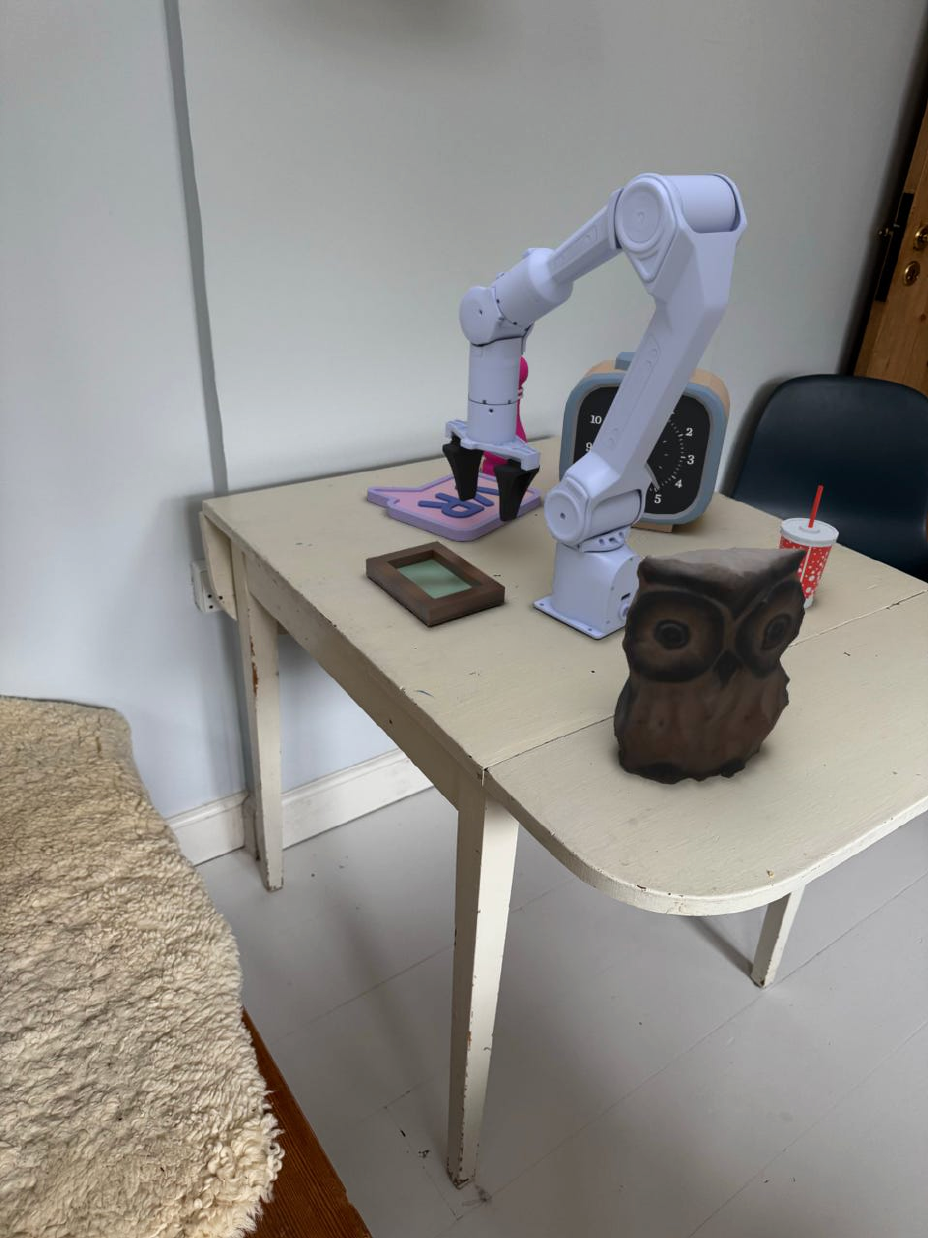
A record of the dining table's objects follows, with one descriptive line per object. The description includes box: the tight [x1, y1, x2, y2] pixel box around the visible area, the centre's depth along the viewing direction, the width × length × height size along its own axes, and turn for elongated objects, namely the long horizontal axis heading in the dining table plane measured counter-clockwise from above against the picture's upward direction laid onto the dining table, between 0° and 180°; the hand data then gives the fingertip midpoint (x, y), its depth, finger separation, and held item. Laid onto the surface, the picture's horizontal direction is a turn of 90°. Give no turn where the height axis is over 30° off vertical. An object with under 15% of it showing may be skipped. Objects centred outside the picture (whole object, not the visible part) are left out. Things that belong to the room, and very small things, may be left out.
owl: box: [613, 546, 807, 785], centre depth 68 cm, size 13×13×20 cm
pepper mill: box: [481, 355, 529, 477], centre depth 125 cm, size 7×7×20 cm
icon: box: [366, 471, 542, 542], centre depth 119 cm, size 19×2×20 cm
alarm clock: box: [558, 351, 731, 533], centre depth 112 cm, size 21×10×22 cm, turn 72°
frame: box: [365, 540, 506, 627], centre depth 96 cm, size 14×10×2 cm
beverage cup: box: [778, 485, 840, 609], centre depth 94 cm, size 6×6×14 cm
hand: (487, 509), depth 102 cm, fingers open, 7 cm apart
